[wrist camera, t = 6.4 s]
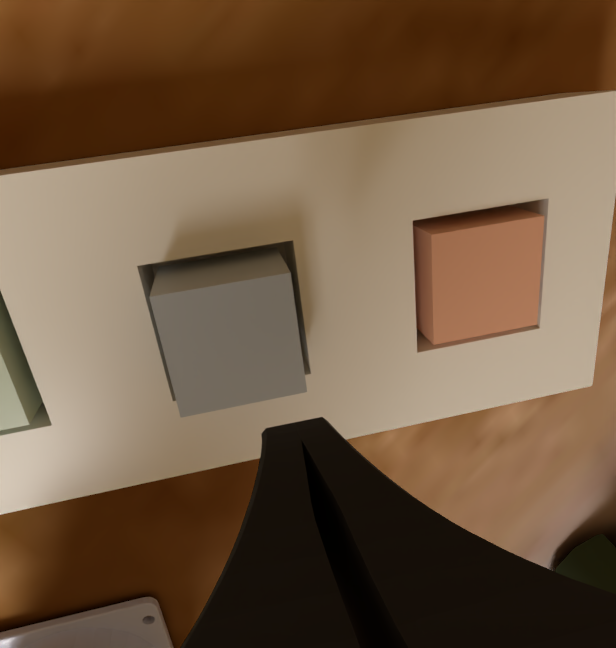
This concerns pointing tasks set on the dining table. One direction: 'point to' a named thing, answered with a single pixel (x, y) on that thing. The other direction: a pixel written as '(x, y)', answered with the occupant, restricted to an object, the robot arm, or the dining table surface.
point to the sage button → (15, 377)
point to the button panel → (307, 280)
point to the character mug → (592, 563)
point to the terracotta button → (477, 272)
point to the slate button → (228, 330)
